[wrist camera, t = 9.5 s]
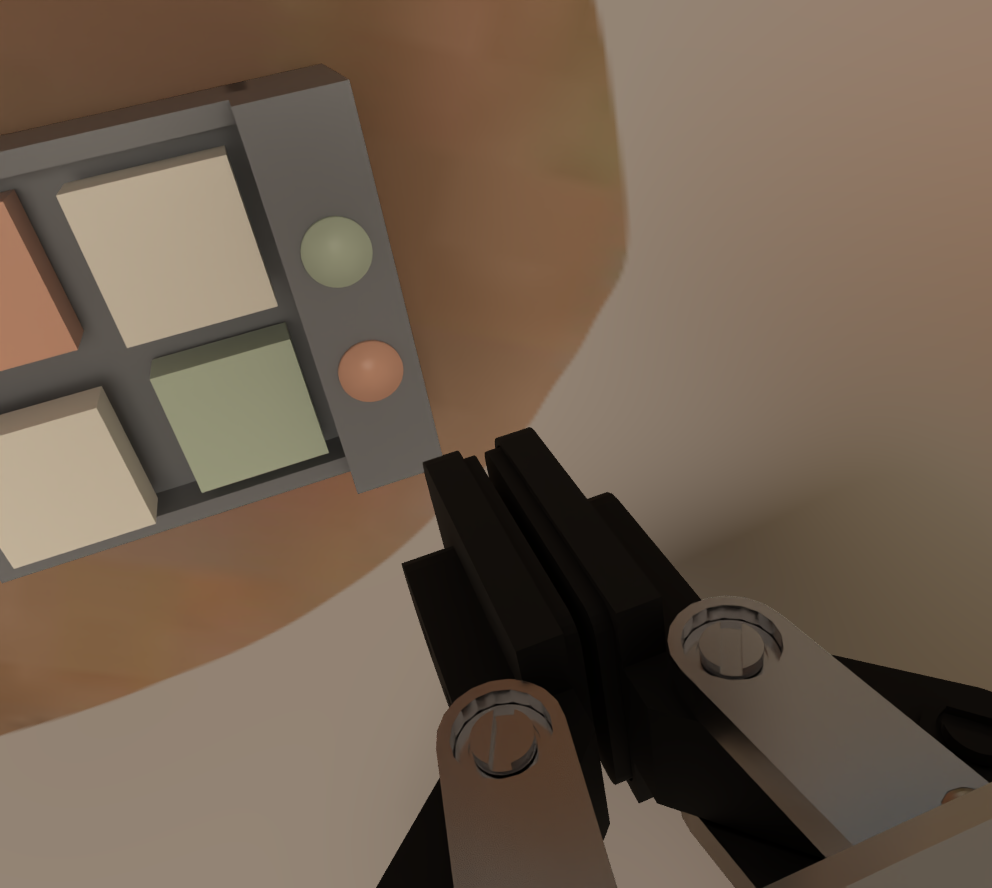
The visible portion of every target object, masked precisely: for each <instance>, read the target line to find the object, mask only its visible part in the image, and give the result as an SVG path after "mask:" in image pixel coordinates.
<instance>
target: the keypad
mask: <svg viewBox="0 0 992 888" xmlns="http://www.w3.org/2000/svg"><path fill="white" fill-rule="evenodd" d="M223 145H225V148H226V151H227V154H228V157H229V160H230V163H231V166H232V169H233V172H234V175H235V178H236V180H237V183H238V186H239V189H240V192H241V195H242V198H243V201H244V204H245V207H246V210H247V213H248V216H249V219H250V222H251V225H252V227H253V230H254V233H255V236H256V239H257V242H258V245H259V248H260V251H261V254H262V257H263V260H264V263H265V266H266V269H267V272H268V274H269V277H270V280H271V283H272V286H273V289H274V293H275V297H276V300H277V304H278V306H277V307H273V308H270V309H266V310H263V311H259V312H255V313H252V314H248V315H245V316H241V317H238V318H234V319H230V320H227V321H223V322H220V323H216V324H212V325H209V326H205V327H202V328H198V329H194V330H191V331H187V332H184V333H180V334H176V335H173V336H169V337H166V338H162V339H158V340H155V341H151V342H148V343H144V344H140V345H137V346H133V347H130V348H127V347H126V345H125V343H124V340H123V338H122V336H121V334H120V332H119V330H118V328H117V325H116V323H115V321H114V319H113V317H112V315H111V313H110V311H109V308H108V306H107V304H106V302H105V300H104V298H103V296H102V293H101V291H100V289H99V287H98V285H97V283H96V281H95V278H94V276H93V274H92V272H91V270H90V268H89V266H88V263H87V261H86V259H85V257H84V255H83V253H82V251H81V248H80V246H79V244H78V242H77V240H76V238H75V236H74V233H73V231H72V229H71V227H70V225H69V223H68V221H67V218H66V216H65V214H64V212H63V210H62V208H61V206H60V203H59V201H58V199H57V197H56V195H57V193H58V192H59V190H60V189H61V187H62V186H63V184H64V183H68V182H72V181H76V180H80V179H85V178H89V177H93V176H97V175H101V174H106V173H110V172H114V171H118V170H122V169H127V168H131V167H135V166H139V165H143V164H148V163H152V162H156V161H160V160H164V159H169V158H173V157H177V156H181V155H185V154H190V153H194V152H198V151H202V150H206V149H211V148H215V147H219V146H223ZM13 189H14V190H15V192H16V194H17V196H18V198H19V200H20V202H21V204H22V206H23V208H24V210H25V212H26V214H27V216H28V218H29V220H30V223H31V225H32V227H33V229H34V231H35V233H36V235H37V237H38V239H39V241H40V243H41V245H42V247H43V249H44V251H45V253H46V255H47V257H48V259H49V261H50V263H51V265H52V267H53V269H54V271H55V273H56V275H57V277H58V279H59V281H60V283H61V285H62V287H63V289H64V291H65V293H66V295H67V297H68V300H69V302H70V304H71V306H72V308H73V310H74V312H75V314H76V316H77V318H78V320H79V322H80V324H81V326H82V328H83V330H84V332H83V335H82V339H81V342H80V345H79V348H78V350H75V351H72V352H68V353H65V354H61V355H57V356H54V357H50V358H46V359H43V360H39V361H36V362H32V363H28V364H25V365H21V366H17V367H14V368H10V369H7V370H3V371H0V415H1V414H5V413H8V412H12V411H15V410H19V409H22V408H26V407H29V406H33V405H36V404H40V403H43V402H47V401H50V400H54V399H57V398H61V397H64V396H68V395H71V394H75V393H78V392H82V391H86V390H89V389H93V388H96V387H100V386H102V387H103V389H104V391H105V393H106V395H107V397H108V399H109V401H110V403H111V405H112V407H113V409H114V411H115V413H116V415H117V417H118V419H119V421H120V423H121V425H122V427H123V429H124V431H125V433H126V435H127V437H128V439H129V441H130V443H131V445H132V447H133V449H134V451H135V453H136V455H137V457H138V459H139V461H140V463H141V465H142V467H143V469H144V471H145V473H146V475H147V477H148V479H149V481H150V483H151V485H152V487H153V489H154V491H155V493H156V495H157V497H158V503H157V516H156V524H153V525H150V526H147V527H144V528H141V529H138V530H134V531H131V532H128V533H125V534H122V535H119V536H116V537H113V538H109V539H106V540H103V541H100V542H97V543H94V544H91V545H88V546H84V547H81V548H78V549H75V550H72V551H69V552H66V553H62V554H59V555H56V556H53V557H50V558H47V559H44V560H41V561H37V562H34V563H31V564H28V565H25V566H22V567H19V568H16V569H14V568H13V567H12V565H11V564H10V562H9V561H8V559H7V558H6V556H5V555H4V553H3V552H2V550H1V549H0V581H1V582H2V583H4V582H7V581H10V580H13V579H16V578H20V577H23V576H26V575H29V574H32V573H35V572H38V571H41V570H44V569H48V568H51V567H54V566H57V565H60V564H63V563H66V562H69V561H72V560H76V559H79V558H82V557H85V556H88V555H91V554H94V553H97V552H100V551H104V550H107V549H110V548H113V547H116V546H119V545H122V544H125V543H128V542H132V541H135V540H138V539H141V538H144V537H147V536H150V535H153V534H156V533H160V532H163V531H166V530H169V529H172V528H175V527H178V526H181V525H184V524H187V523H191V522H194V521H197V520H200V519H203V518H206V517H209V516H212V515H215V514H219V513H222V512H225V511H228V510H231V509H234V508H237V507H240V506H243V505H247V504H250V503H253V502H256V501H259V500H262V499H265V498H268V497H271V496H275V495H278V494H281V493H284V492H287V491H290V490H293V489H296V488H299V487H303V486H306V485H309V484H312V483H315V482H318V481H321V480H324V479H327V478H331V477H334V476H337V475H340V474H343V473H346V472H349V471H351V474H352V477H353V480H354V483H355V486H356V490H357V493H358V494H360V493H363V492H366V491H369V490H372V489H375V488H378V487H381V486H384V485H387V484H390V483H393V482H396V481H399V480H402V479H405V478H408V477H411V476H414V475H418V474H421V473H424V469H423V462H424V461H427V460H430V459H433V458H436V457H439V456H442V452H441V448H440V444H439V440H438V436H437V432H436V428H435V424H434V420H433V416H432V412H431V408H430V404H429V400H428V396H427V392H426V388H425V384H424V380H423V376H422V371H421V367H420V363H419V359H418V355H417V351H416V347H415V343H414V339H413V335H412V331H411V327H410V323H409V319H408V315H407V311H406V307H405V303H404V299H403V295H402V291H401V287H400V283H399V279H398V275H397V271H396V266H395V262H394V258H393V254H392V250H391V246H390V242H389V238H388V234H387V230H386V226H385V222H384V218H383V214H382V210H381V206H380V202H379V198H378V194H377V190H376V186H375V182H374V178H373V174H372V170H371V165H370V161H369V157H368V153H367V149H366V145H365V141H364V137H363V133H362V129H361V125H360V121H359V117H358V113H357V109H356V105H355V101H354V97H353V93H352V89H351V85H350V81H349V79H347V78H346V77H344V76H342V75H340V74H339V73H337V72H335V71H334V70H332V69H330V68H328V67H327V66H325V65H323V64H318V65H314V66H309V67H305V68H300V69H296V70H291V71H287V72H282V73H278V74H274V75H269V76H265V77H260V78H256V79H251V80H247V81H242V82H238V83H233V84H229V85H225V86H220V87H216V88H211V89H207V90H202V91H198V92H193V93H189V94H184V95H180V96H176V97H171V98H167V99H162V100H158V101H153V102H149V103H144V104H140V105H135V106H131V107H126V108H122V109H118V110H113V111H109V112H104V113H100V114H95V115H91V116H86V117H82V118H77V119H73V120H69V121H64V122H60V123H55V124H51V125H46V126H42V127H37V128H33V129H28V130H24V131H20V132H15V133H11V134H6V135H2V136H0V192H5V191H9V190H13ZM284 322H286V325H287V328H288V331H289V334H290V337H291V340H292V343H293V346H294V349H295V352H296V355H297V358H298V360H299V363H300V366H301V369H302V372H303V375H304V378H305V381H306V384H307V387H308V390H309V393H310V396H311V399H312V402H313V405H314V408H315V410H316V413H317V416H318V419H319V422H320V425H321V428H322V431H323V434H324V438H325V441H326V445H327V448H328V452H329V453H327V454H324V455H320V456H317V457H314V458H311V459H308V460H305V461H301V462H298V463H295V464H292V465H289V466H286V467H282V468H279V469H276V470H273V471H270V472H267V473H263V474H260V475H257V476H254V477H251V478H248V479H244V480H241V481H238V482H235V483H232V484H229V485H225V486H222V487H219V488H216V489H213V490H210V491H206V492H203V493H202V492H201V490H200V488H199V485H198V483H197V481H196V479H195V477H194V475H193V472H192V470H191V468H190V466H189V464H188V462H187V459H186V457H185V455H184V453H183V451H182V448H181V446H180V444H179V442H178V440H177V438H176V435H175V433H174V431H173V429H172V427H171V425H170V422H169V420H168V418H167V416H166V414H165V412H164V409H163V407H162V405H161V403H160V401H159V399H158V396H157V394H156V392H155V390H154V388H153V386H152V383H151V381H150V372H151V363H152V360H153V359H156V358H160V357H163V356H167V355H170V354H174V353H177V352H181V351H185V350H188V349H192V348H195V347H199V346H202V345H206V344H209V343H213V342H216V341H220V340H224V339H227V338H231V337H234V336H238V335H241V334H245V333H248V332H252V331H255V330H259V329H262V328H266V327H270V326H273V325H277V324H280V323H284Z"/></svg>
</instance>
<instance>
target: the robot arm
mask: <svg viewBox="0 0 992 888" xmlns="http://www.w3.org/2000/svg"><path fill="white" fill-rule="evenodd" d="M485 461H486V466H487V470H488V475H489V477H488V475H487V474H486V472H485V470H484V469H483V467H482V465H481V464H480V462H479V460H478V459H477V457H476V456H471V457H468V458H465V459H463V457H462V455H461V454H460V452H459V451H455V452H452V453H449V454H446V455H443V456H439V457H436V458H433V459H430V460H427V461H424V462H423V469H424V473H425V477H426V481H427V485H428V488H429V492H430V496H431V500H432V503H433V507H434V511H435V515H436V518H437V522H438V525H439V530H440V533H441V537H442V541H443V545H444V548H445V549H442V550H439V551H436V552H433V553H431V554H428V555H425V556H422V557H419V558H417V559H413V560H410V561H408V562H404V563H402V567H403V571H404V574H405V578H406V581H407V584H408V587H409V590H410V594H411V597H412V600H413V603H414V607H415V610H416V613H417V616H418V619H419V622H420V625H421V628H422V631H423V634H424V637H425V640H426V643H427V646H428V649H429V652H430V655H431V658H432V661H433V663H434V666H435V669H436V672H437V675H438V678H439V680H440V683H441V686H442V688H443V692H444V695H445V697H446V700H447V703H448V706H449V709H448V710H447V711H446V712H445V714H444V716H443V718H442V720H441V723H440V725H439V728H438V730H437V742H436V751H437V760H438V767H439V775H440V778H439V780H438V782H437V783H436V785H435V787H434V789H433V790H432V792H431V794H430V795H429V797H428V799H427V800H426V802H425V804H424V806H423V807H422V809H421V811H420V813H419V814H418V816H417V818H416V820H415V821H414V823H413V825H412V826H411V828H410V830H409V832H408V833H407V835H406V837H405V839H404V840H403V842H402V844H401V845H400V847H399V849H398V851H397V852H396V854H395V856H394V858H393V859H392V861H391V863H390V865H389V866H388V868H387V870H386V871H385V873H384V875H383V877H382V878H381V880H380V882H379V884H378V885H377V887H376V888H617V885H616V882H615V878H614V875H613V872H612V869H611V865H610V862H609V859H608V855H607V852H606V849H605V845H604V842H603V840H604V838H605V835H606V833H607V830H608V827H609V825H610V821H609V814H608V808H607V801H606V795H605V789H604V782H603V776H602V769H601V763H602V765H603V767H604V769H605V770H606V772H607V774H608V776H609V778H610V780H611V781H612V782H613V784H615V785H616V784H618V783H620V782H623V781H627V782H628V784H629V786H630V788H631V790H632V792H633V794H634V795H635V797H636V799H637V801H638V803H641V802H643V801H646V800H648V799H650V798H652V797H654V799H655V800H656V802H657V803H658V804H661V805H664V806H667V807H670V808H674V809H676V810H679V811H681V814H682V818H683V820H684V821H685V823H686V825H687V827H688V828H689V830H690V832H691V833H692V834H693V836H694V837H695V838H696V839H697V840H698V842H699V843H700V844H701V846H702V847H703V848H704V849H705V851H706V852H707V853H708V855H709V856H710V857H711V858H712V860H713V861H714V862H715V863H716V865H717V866H718V867H719V868H720V870H721V871H722V872H723V873H724V874H725V876H726V877H727V878H728V880H729V881H730V882H731V883H732V885H733V886H734V887H735V888H992V692H991V691H988V690H985V689H982V688H978V687H973V686H969V685H965V684H961V683H956V682H951V681H947V680H943V679H938V678H933V677H929V676H924V675H920V674H916V673H911V672H907V671H902V670H898V669H893V668H888V667H884V666H879V665H875V664H870V663H866V662H862V661H857V660H853V659H848V658H844V657H839V656H835V655H830V654H829V653H828V652H827V651H826V650H824V649H823V648H822V647H821V646H819V645H818V644H817V643H815V642H814V641H813V640H812V639H811V638H809V637H808V636H807V635H805V634H804V633H803V632H802V631H801V630H799V629H798V628H797V627H795V625H793V624H792V623H791V622H790V621H788V620H787V619H786V618H784V617H783V616H782V615H781V614H780V613H778V612H776V611H775V610H773V609H772V608H770V607H768V606H767V605H765V604H763V603H760V602H757V601H754V600H751V599H748V598H744V597H733V596H720V597H712V598H706V599H704V600H701V599H700V598H699V597H698V595H697V594H696V593H695V592H694V591H693V589H692V588H691V587H690V586H689V584H688V583H687V582H686V581H685V580H684V578H683V577H682V576H681V575H680V574H679V572H678V571H677V570H676V569H675V568H674V566H673V565H672V564H671V563H670V562H669V560H668V559H667V558H666V557H665V556H664V554H663V553H662V552H661V551H660V550H659V548H658V547H657V546H656V545H655V543H654V542H653V541H652V540H651V539H650V538H649V537H648V535H647V534H646V533H645V531H644V530H643V529H642V528H641V527H640V526H639V524H638V523H637V522H636V521H635V519H634V518H633V517H632V516H631V515H630V513H629V512H628V511H627V510H626V509H625V507H624V506H623V505H622V504H621V503H620V501H619V500H618V499H617V498H616V497H615V496H614V495H613V494H612V493H608V492H606V493H603V494H600V495H597V496H595V497H592V498H589V499H587V498H586V497H585V496H584V495H583V493H582V492H581V491H580V489H579V488H578V487H577V485H576V484H575V483H574V481H573V480H572V479H571V478H570V476H569V475H568V474H567V472H566V471H565V470H564V469H563V467H562V466H561V465H560V463H559V462H558V461H557V459H556V458H555V457H554V456H553V454H552V453H551V452H550V450H549V449H548V448H547V447H546V445H545V444H544V442H543V441H542V440H541V439H540V437H539V436H538V435H537V433H536V432H535V431H534V430H533V429H532V428H530V427H529V428H526V429H523V430H520V431H516V432H513V433H510V434H507V435H504V436H501V437H498V438H496V439H495V449H492V450H489V451H486V452H485ZM600 761H601V763H600Z"/></svg>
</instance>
